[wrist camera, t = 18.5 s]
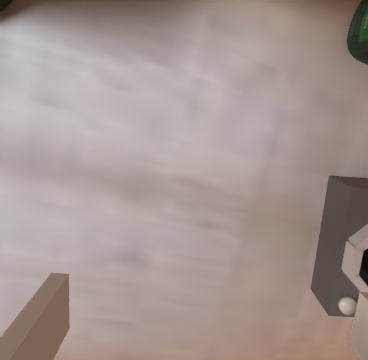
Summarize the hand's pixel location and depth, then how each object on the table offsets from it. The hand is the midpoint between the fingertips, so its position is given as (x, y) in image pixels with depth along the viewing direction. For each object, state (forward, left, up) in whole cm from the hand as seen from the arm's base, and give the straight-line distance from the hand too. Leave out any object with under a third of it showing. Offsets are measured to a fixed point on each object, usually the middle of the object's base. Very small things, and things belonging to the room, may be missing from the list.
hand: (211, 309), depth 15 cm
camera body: (+7, +22, -29) cm, 37 cm away
